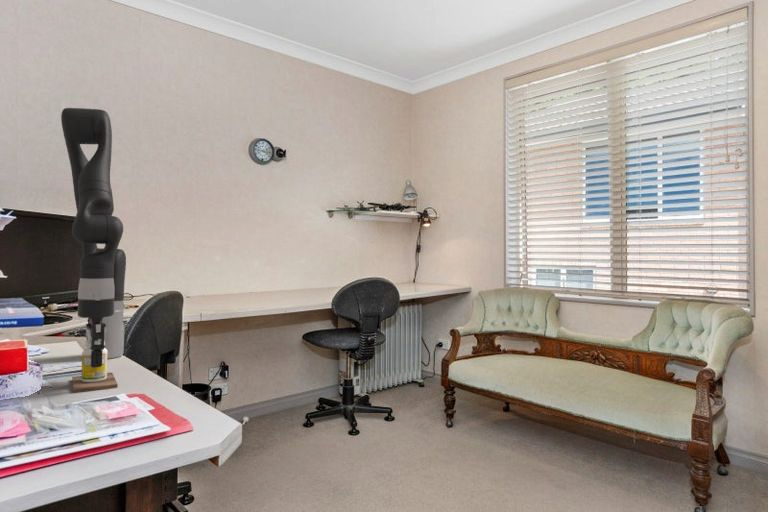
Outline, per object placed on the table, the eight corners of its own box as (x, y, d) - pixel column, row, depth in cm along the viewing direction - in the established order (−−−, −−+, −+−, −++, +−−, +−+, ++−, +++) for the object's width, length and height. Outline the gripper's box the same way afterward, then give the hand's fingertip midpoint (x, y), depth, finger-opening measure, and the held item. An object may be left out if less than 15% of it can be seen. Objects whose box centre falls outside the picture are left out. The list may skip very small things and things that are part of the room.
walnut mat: (72, 380, 116) (72, 376, 116) (112, 375, 121) (112, 372, 121) (73, 392, 105) (73, 389, 105) (117, 387, 110) (117, 384, 110)
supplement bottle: (99, 383, 111) (100, 342, 111) (76, 383, 110) (77, 342, 110) (111, 377, 116) (112, 338, 116) (88, 377, 116) (89, 338, 116)
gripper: (76, 295, 117) (74, 359, 117) (79, 299, 105) (78, 371, 105) (111, 294, 121) (109, 356, 121) (117, 298, 110) (116, 367, 110)
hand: (94, 363), depth 113 cm, fingers open, 8 cm apart
